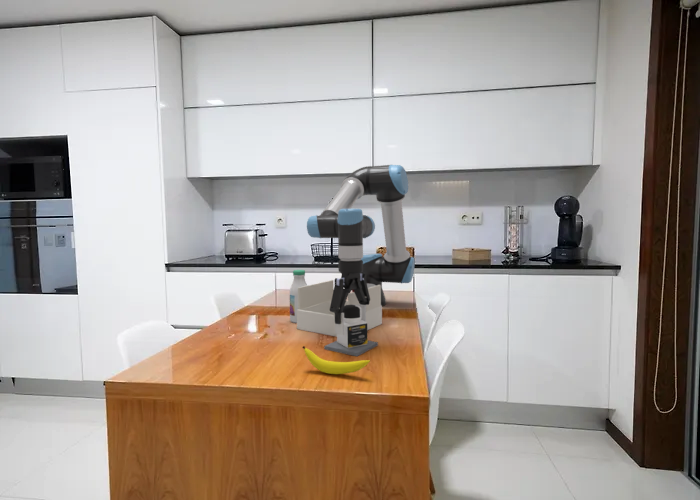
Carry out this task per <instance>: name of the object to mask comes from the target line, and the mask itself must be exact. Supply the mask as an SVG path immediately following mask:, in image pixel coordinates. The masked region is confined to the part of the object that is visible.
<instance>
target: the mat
mask: <svg viewBox="0 0 700 500" xmlns="http://www.w3.org/2000/svg"><path fill="white" fill-rule="evenodd" d="M377 346H379V342H377V341H372V340H368V344H367V345H363V346H358V347H353V348H346V347H345V346H343V345H341V344H339V343H338V342H337V340H334V341H333V342H330V343H328V344H326V345H324V346H323V350H326V351H332V352H335V353H340V354H343V355H349V356H352V357H359V356H361V355H362V354H365V353H366V352H369V351H370V350H372V349H374V348H375V347H377Z"/></svg>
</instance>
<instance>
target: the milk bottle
mask: <svg viewBox="0 0 700 500" xmlns="http://www.w3.org/2000/svg"><path fill="white" fill-rule="evenodd" d="M292 274H293V275H292V276H293V279H292V280H293V281H292V283H291V286H290V288H289V289H290V290H289V321H290V322H291V323H294V324H297V310H298V288H299V287H304V286H308V284H307V281H306V279H305V277H306V270H304V269H294V270H293V271H292Z"/></svg>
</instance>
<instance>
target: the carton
mask: <svg viewBox="0 0 700 500" xmlns="http://www.w3.org/2000/svg"><path fill="white" fill-rule="evenodd" d="M333 291H334V280H333V279H331V280H327V281H323V282H317V283H313V284H309V285H308V284H307V286H304V287H299V288H298V310H297V323H296V329H297V330H301V331H306V332H311V333H316V334H321V335H326V336H331V337H336V338H337V334H335V313H334V312H331V311H330V305H331V300H332V296H333ZM368 292H369V296H370V301H369V305H366V322H367V331H369V330H371V329H373V328H376V327H377V326H380V325H382V324H383V306H382V305H381V285H377V286H373V287H370V288H368ZM358 304H360V303H359V301H358V299H357V297H356V295H355V293H354V292H352V291H351V292H350V293H349V294H348V297H347V300H346V302H345V305H358ZM345 305H344V306H345ZM339 309H340V308H339Z"/></svg>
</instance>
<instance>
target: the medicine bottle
mask: <svg viewBox="0 0 700 500" xmlns="http://www.w3.org/2000/svg"><path fill="white" fill-rule="evenodd" d="M342 313H344V335H340V334H337V337H336V341H337V342H338V343H339V344H341V345H343V346H345V347H346V348H353V347H358V346H363V345H367V344H368V341H369V339H368V330H367V322H365V321H363V320H361V318H362V317H361V307H360V306H358V305H345V306H344V308H343V311H342Z"/></svg>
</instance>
